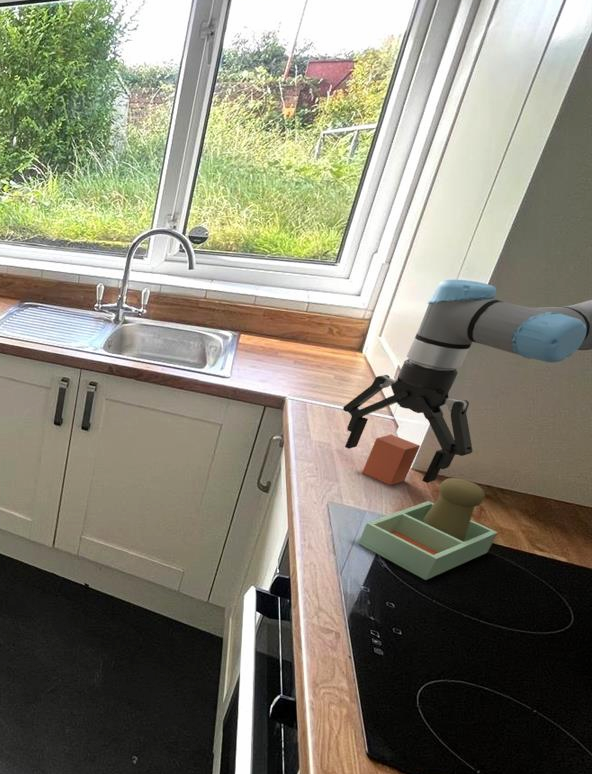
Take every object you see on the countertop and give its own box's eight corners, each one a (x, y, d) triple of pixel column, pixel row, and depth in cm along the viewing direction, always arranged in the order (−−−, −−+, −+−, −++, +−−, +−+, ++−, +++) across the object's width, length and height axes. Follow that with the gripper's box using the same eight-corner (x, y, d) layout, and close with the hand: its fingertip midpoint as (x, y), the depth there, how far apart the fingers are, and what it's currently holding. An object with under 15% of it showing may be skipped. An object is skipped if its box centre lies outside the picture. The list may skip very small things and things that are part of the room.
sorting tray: (419, 520, 103) (428, 500, 101) (487, 552, 95) (498, 532, 94) (357, 543, 96) (366, 522, 95) (425, 580, 88) (436, 558, 87)
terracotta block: (404, 480, 116) (420, 445, 112) (389, 485, 114) (405, 449, 111) (376, 468, 120) (390, 434, 117) (361, 472, 118) (376, 438, 115)
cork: (413, 538, 97) (440, 482, 93) (415, 523, 101) (440, 468, 97) (462, 555, 93) (493, 498, 89) (462, 539, 97) (491, 483, 93)
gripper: (532, 387, 98) (476, 492, 107) (369, 340, 119) (333, 431, 128) (510, 393, 96) (454, 500, 104) (346, 344, 116) (311, 437, 125)
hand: (387, 463), depth 116 cm, fingers open, 13 cm apart
